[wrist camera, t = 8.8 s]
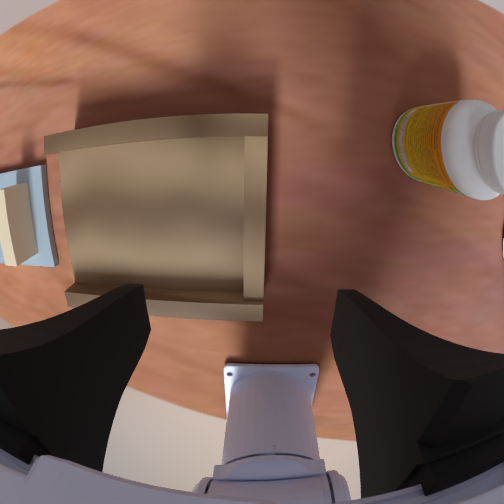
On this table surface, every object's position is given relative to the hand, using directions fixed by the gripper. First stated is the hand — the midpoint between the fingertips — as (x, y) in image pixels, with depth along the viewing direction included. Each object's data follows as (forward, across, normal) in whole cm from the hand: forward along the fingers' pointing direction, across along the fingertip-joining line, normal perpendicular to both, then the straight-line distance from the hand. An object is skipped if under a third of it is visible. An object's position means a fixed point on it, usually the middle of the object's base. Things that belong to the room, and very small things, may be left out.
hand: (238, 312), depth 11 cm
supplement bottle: (+10, -12, -7) cm, 17 cm away
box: (+10, +6, -2) cm, 12 cm away
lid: (+10, +22, -2) cm, 24 cm away
